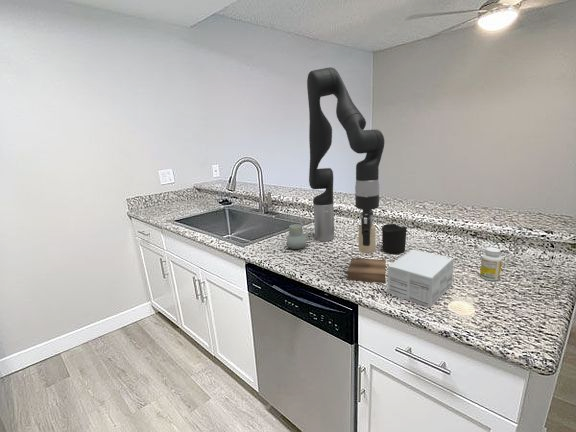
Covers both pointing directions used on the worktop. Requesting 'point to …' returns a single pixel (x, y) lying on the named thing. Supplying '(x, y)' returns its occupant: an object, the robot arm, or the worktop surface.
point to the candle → (372, 240)
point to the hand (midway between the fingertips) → (367, 242)
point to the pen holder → (393, 238)
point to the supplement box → (420, 277)
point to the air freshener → (296, 237)
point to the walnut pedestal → (367, 270)
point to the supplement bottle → (491, 264)
